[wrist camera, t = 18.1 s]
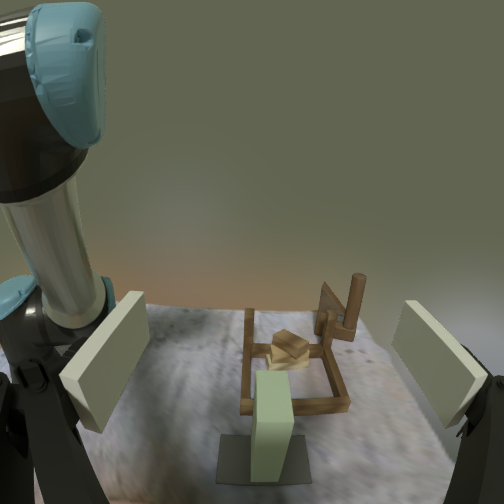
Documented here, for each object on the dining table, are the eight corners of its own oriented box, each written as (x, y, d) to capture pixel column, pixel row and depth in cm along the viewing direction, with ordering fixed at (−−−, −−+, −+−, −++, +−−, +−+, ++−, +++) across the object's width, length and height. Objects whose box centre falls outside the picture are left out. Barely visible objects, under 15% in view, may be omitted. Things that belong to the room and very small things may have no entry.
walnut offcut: (272, 344, 60) (273, 334, 59) (282, 338, 62) (283, 328, 61) (297, 358, 55) (298, 348, 54) (307, 351, 57) (309, 341, 56)
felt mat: (215, 483, 30) (215, 482, 30) (220, 435, 40) (220, 434, 40) (311, 483, 31) (311, 482, 30) (304, 436, 40) (304, 435, 40)
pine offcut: (268, 372, 58) (269, 363, 57) (265, 363, 61) (266, 354, 60) (307, 368, 59) (309, 360, 58) (303, 359, 62) (304, 351, 62)
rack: (240, 415, 45) (241, 367, 42) (243, 352, 64) (245, 308, 60) (346, 412, 45) (363, 365, 42) (326, 353, 64) (335, 310, 61)
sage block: (250, 481, 31) (256, 421, 26) (251, 438, 39) (256, 370, 35) (278, 481, 31) (294, 421, 26) (275, 438, 39) (286, 370, 35)
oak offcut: (271, 363, 57) (272, 354, 56) (269, 354, 60) (270, 344, 60) (307, 361, 58) (309, 351, 57) (303, 351, 61) (305, 342, 61)
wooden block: (316, 328, 75) (326, 267, 70) (354, 335, 72) (367, 274, 66) (313, 335, 72) (323, 271, 67) (353, 342, 68) (367, 279, 63)
